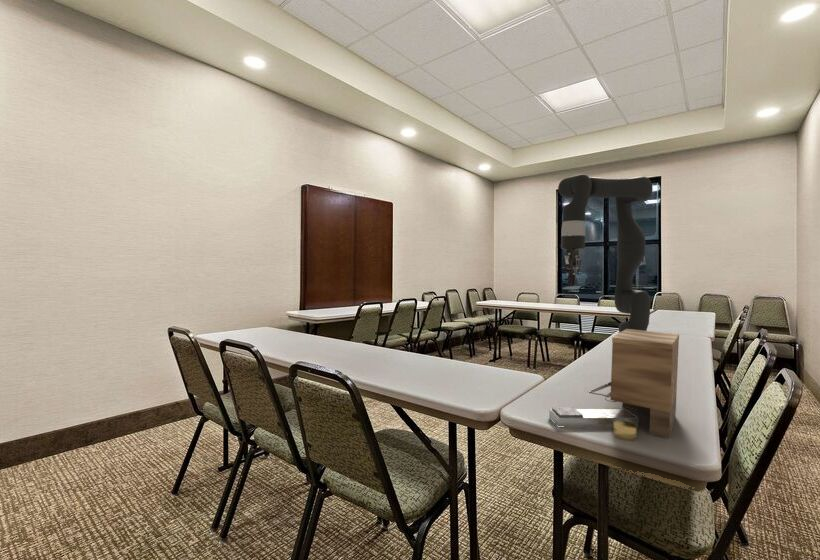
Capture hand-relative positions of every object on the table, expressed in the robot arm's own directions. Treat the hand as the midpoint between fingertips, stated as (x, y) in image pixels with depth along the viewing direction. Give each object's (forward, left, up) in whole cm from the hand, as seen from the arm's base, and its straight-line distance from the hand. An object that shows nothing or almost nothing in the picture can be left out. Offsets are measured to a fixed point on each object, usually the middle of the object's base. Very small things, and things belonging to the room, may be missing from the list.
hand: (571, 286), depth 131 cm
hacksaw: (-7, +13, -36) cm, 39 cm away
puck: (+30, +22, -35) cm, 52 cm away
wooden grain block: (+16, +24, -35) cm, 46 cm away
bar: (+27, +14, -36) cm, 47 cm away
